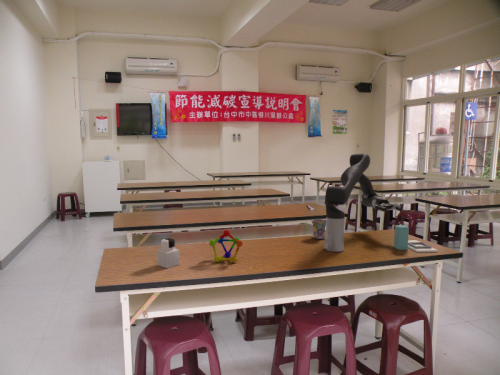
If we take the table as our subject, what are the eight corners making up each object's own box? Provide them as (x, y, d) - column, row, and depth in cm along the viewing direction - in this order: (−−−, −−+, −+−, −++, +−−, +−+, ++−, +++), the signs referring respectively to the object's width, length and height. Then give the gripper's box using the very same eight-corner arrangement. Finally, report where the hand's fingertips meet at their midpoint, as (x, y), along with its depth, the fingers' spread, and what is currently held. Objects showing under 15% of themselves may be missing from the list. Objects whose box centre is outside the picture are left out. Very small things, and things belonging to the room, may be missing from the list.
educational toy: (238, 257, 174) (241, 227, 172) (241, 265, 161) (244, 234, 159) (207, 255, 172) (210, 225, 170) (207, 263, 159) (210, 231, 157)
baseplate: (417, 252, 178) (417, 248, 178) (397, 242, 198) (398, 238, 198) (437, 252, 179) (438, 248, 178) (416, 241, 199) (416, 238, 198)
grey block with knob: (169, 261, 164) (169, 236, 162) (179, 264, 159) (179, 239, 158) (157, 265, 158) (156, 239, 157) (167, 268, 154) (166, 242, 152)
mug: (329, 239, 205) (330, 221, 204) (315, 240, 202) (316, 222, 200) (319, 234, 216) (319, 217, 215) (306, 235, 213) (306, 218, 212)
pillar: (398, 249, 183) (399, 227, 182) (393, 247, 188) (394, 225, 187) (407, 249, 183) (408, 227, 182) (402, 247, 188) (403, 225, 187)
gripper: (369, 198, 210) (380, 203, 194) (392, 197, 211) (405, 202, 195) (368, 210, 211) (380, 216, 195) (392, 209, 212) (404, 215, 196)
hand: (392, 209), depth 195 cm, fingers open, 8 cm apart
